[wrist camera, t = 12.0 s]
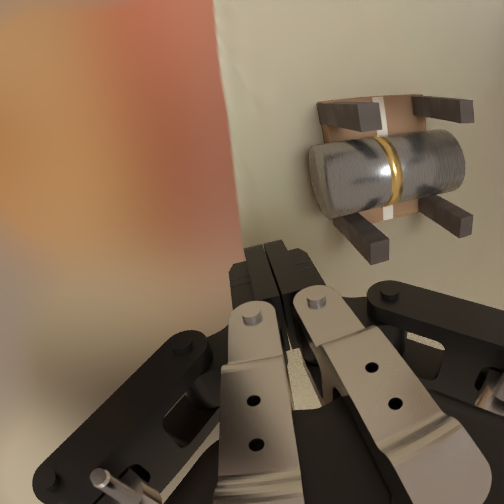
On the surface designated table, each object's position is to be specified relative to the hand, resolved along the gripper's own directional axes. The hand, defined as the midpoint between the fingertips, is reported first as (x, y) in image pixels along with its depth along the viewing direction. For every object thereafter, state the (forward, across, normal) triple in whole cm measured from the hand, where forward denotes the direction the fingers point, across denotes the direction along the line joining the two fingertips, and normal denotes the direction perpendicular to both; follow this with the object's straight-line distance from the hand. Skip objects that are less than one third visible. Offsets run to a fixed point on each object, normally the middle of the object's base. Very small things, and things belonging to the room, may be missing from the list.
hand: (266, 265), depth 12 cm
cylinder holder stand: (+13, -12, 0) cm, 17 cm away
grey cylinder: (+11, -11, 0) cm, 16 cm away
